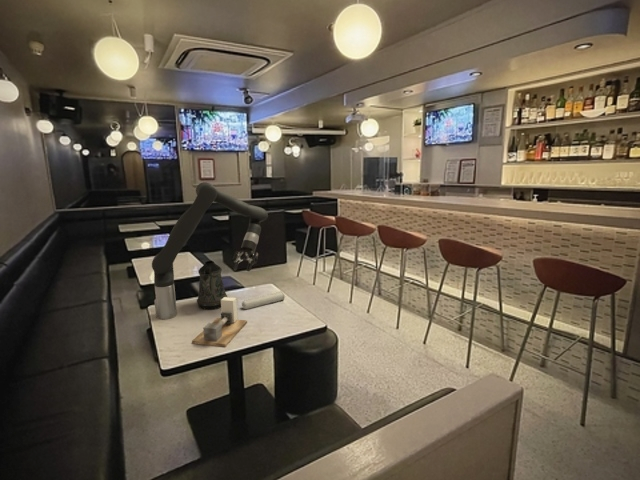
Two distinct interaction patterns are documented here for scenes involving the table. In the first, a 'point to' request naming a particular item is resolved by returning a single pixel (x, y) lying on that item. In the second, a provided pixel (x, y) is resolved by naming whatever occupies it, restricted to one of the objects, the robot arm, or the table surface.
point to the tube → (263, 300)
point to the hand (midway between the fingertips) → (241, 270)
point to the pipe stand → (219, 332)
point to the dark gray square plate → (227, 315)
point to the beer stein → (210, 287)
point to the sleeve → (229, 307)
